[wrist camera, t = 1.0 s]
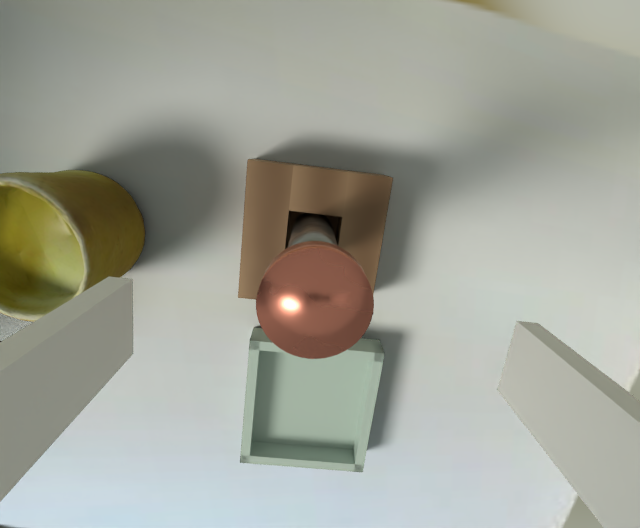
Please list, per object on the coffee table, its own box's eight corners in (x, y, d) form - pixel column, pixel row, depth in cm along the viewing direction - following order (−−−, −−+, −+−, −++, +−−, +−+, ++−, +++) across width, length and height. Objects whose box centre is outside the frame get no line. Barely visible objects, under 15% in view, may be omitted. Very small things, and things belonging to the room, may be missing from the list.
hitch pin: (279, 257, 31) (251, 353, 16) (284, 197, 30) (261, 242, 15) (338, 263, 32) (364, 363, 17) (346, 205, 30) (382, 256, 15)
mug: (156, 153, 27) (44, 212, 19) (171, 271, 33) (90, 355, 25) (4, 124, 29) (-161, 169, 21) (44, 242, 35) (-73, 313, 26)
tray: (244, 443, 37) (239, 462, 34) (253, 327, 33) (249, 340, 31) (359, 452, 37) (362, 472, 35) (379, 339, 34) (384, 353, 32)
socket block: (245, 282, 32) (238, 297, 29) (254, 158, 30) (247, 159, 26) (364, 295, 33) (370, 311, 30) (383, 174, 30) (393, 177, 27)
